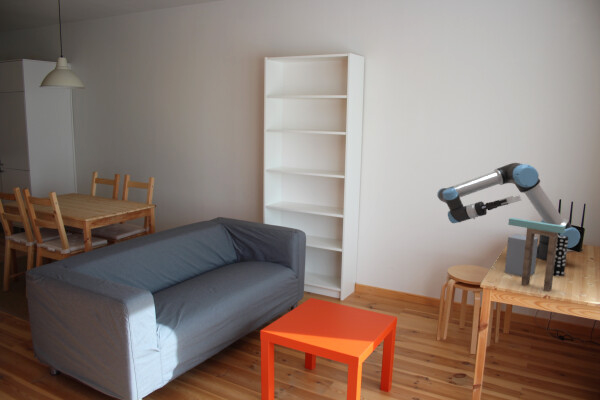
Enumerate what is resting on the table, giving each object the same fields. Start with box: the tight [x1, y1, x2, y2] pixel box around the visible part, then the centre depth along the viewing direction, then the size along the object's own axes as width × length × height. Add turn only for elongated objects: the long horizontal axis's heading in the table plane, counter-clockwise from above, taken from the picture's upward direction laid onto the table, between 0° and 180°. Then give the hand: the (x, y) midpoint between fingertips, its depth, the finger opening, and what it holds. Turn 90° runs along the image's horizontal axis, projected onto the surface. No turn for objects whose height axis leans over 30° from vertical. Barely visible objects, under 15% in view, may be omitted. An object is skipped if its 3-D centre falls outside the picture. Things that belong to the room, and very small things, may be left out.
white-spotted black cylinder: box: [553, 235, 568, 277], centre depth 242 cm, size 8×8×20 cm
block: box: [504, 233, 539, 277], centre depth 243 cm, size 11×11×19 cm
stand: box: [520, 228, 558, 292], centre depth 220 cm, size 5×12×28 cm, turn 45°
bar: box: [507, 217, 566, 234], centre depth 220 cm, size 4×24×3 cm, turn 45°
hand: (517, 198), depth 239 cm, fingers open, 13 cm apart
